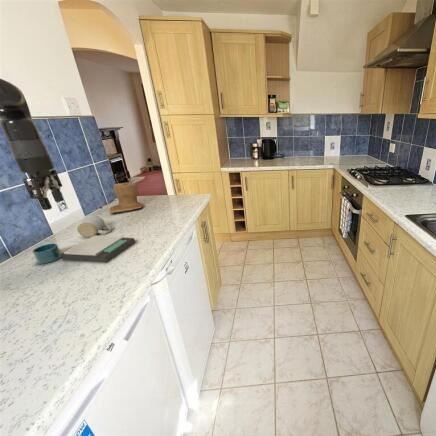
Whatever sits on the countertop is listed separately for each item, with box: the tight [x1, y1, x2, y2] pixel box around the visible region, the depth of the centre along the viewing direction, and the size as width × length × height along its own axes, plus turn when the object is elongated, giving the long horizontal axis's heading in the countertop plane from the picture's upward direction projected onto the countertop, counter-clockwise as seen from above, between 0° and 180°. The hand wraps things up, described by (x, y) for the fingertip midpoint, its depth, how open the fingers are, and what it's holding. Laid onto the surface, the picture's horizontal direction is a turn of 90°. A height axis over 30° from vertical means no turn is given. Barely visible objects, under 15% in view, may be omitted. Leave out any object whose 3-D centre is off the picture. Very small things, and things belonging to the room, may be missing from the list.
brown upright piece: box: [108, 182, 144, 214], centre depth 131 cm, size 15×12×15 cm
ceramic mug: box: [77, 214, 112, 238], centre depth 106 cm, size 11×8×8 cm
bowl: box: [32, 242, 62, 265], centre depth 87 cm, size 6×6×5 cm
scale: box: [60, 235, 136, 263], centre depth 92 cm, size 18×14×3 cm
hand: (54, 205), depth 80 cm, fingers open, 8 cm apart
